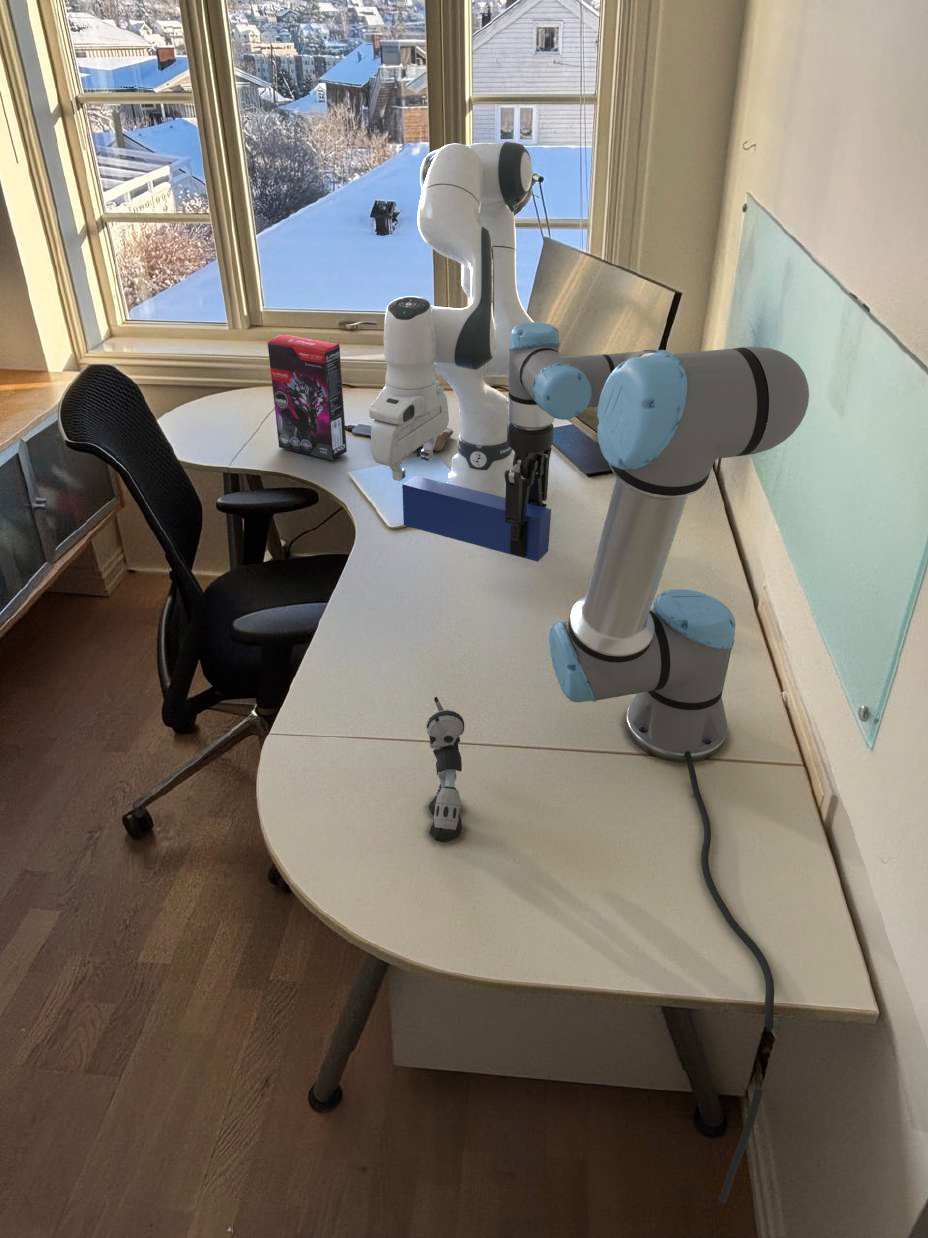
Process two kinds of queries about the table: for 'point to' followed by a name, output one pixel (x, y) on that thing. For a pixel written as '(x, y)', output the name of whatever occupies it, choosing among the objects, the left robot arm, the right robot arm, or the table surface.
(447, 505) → the bar
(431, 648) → the table surface
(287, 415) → the graphics card box
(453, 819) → the robot
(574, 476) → the table surface
